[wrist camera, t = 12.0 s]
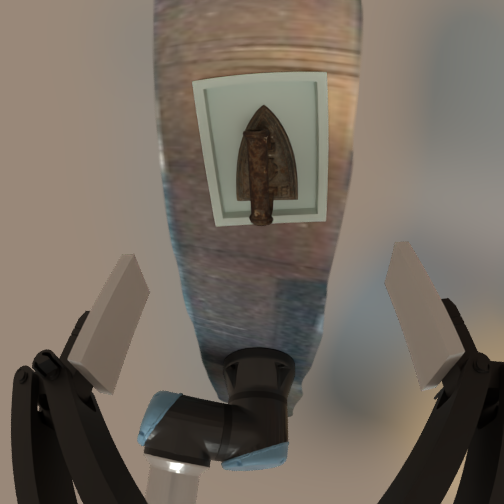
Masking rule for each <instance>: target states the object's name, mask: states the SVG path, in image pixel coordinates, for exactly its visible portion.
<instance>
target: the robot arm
mask: <svg viewBox="0 0 504 504" xmlns="http://www.w3.org/2000/svg"><path fill="white" fill-rule="evenodd" d="M385 286H386V288H387V291H388V293H389V296H390V298H391V301H392V304H393V306H394V309H395V311H396V314H397V317H398V320H399V322H400V325H401V328H402V331H403V334H404V337H405V340H406V342H407V345H408V349H409V352H410V355H411V358H412V361H413V365H414V368H415V371H416V375H417V378H418V382H419V384H420V389H421V391H424V390H428V389H432V388H436V387H437V385H438V384H439V383H440V382H441V381H442V383H443V386H444V387H443V388H442V389H441V390H440V391H439V392H438V393H437V395H436V396H435V397H434V399H437V398H438V399H437V402H436V404H435V406H434V408H433V411H432V413H431V415H430V417H429V419H428V421H427V423H426V425H425V427H424V429H423V431H422V433H421V435H420V437H419V439H418V441H417V443H416V444H415V446H414V448H413V450H412V452H411V453H410V455H409V457H408V459H407V460H406V462H405V464H404V465H403V467H402V468H401V470H400V472H399V473H398V475H397V476H396V478H395V479H394V481H393V482H392V484H391V485H390V487H389V488H388V490H387V491H386V492H385V494H384V495H383V497H382V498H381V499H380V501H379V502H378V504H441V502H442V500H443V499H444V497H445V495H446V493H447V491H448V490H449V488H450V486H451V484H452V482H453V480H454V478H455V476H456V474H457V472H458V470H459V468H460V465H461V463H462V461H463V459H464V457H465V454H466V452H467V449H468V452H467V456H466V461H465V465H464V470H463V473H462V477H461V480H460V484H459V487H458V491H457V494H456V497H455V500H454V503H453V504H504V362H496V361H490V359H489V358H488V357H487V356H486V355H485V354H483V353H480V352H478V351H477V349H476V347H475V344H474V342H473V340H472V338H471V336H470V333H469V331H468V329H467V327H466V325H465V324H464V321H463V319H462V317H461V316H460V313H459V311H458V309H457V307H456V305H455V304H454V303H453V302H452V301H450V299H449V298H447V299H441V298H440V296H439V295H438V293H437V291H436V289H435V287H434V285H433V283H432V281H431V280H430V278H429V276H428V274H427V272H426V271H425V269H424V267H423V265H422V264H421V262H420V260H419V259H418V257H417V255H416V254H415V252H414V250H413V249H412V247H411V245H410V244H409V242H395V245H394V249H393V253H392V257H391V261H390V265H389V269H388V273H387V276H386V280H385ZM149 294H150V291H149V289H148V287H147V284H146V282H145V279H144V277H143V275H142V272H141V270H140V267H139V265H138V262H137V260H136V257H135V255H134V254H125V255H122V256H121V257H120V259H119V261H118V262H117V264H116V266H115V268H114V269H113V271H112V272H111V274H110V276H109V278H108V280H107V282H106V283H105V285H104V287H103V288H102V290H101V292H100V294H99V296H98V298H97V299H96V301H95V303H94V305H93V307H92V309H91V311H86V312H85V313H84V314H83V315H82V316H81V317H80V318H79V319H78V321H77V323H76V326H75V329H73V331H72V333H71V336H70V337H69V339H68V342H67V343H66V346H65V348H64V350H63V352H62V354H61V356H60V358H58V357H57V356H56V355H55V354H54V353H53V352H52V351H51V350H43V351H41V352H40V353H38V354H37V355H36V357H35V358H34V361H33V363H32V364H33V365H32V368H33V369H34V370H35V372H34V371H33V370H32V369H31V368H30V367H28V366H22V367H20V368H19V369H18V370H17V372H16V373H15V376H14V381H13V392H12V409H11V446H12V463H13V474H14V482H15V489H16V496H17V501H18V504H78V503H77V499H76V495H75V491H74V486H73V482H74V484H75V487H76V489H77V491H78V494H79V496H80V498H81V500H82V502H83V504H196V498H197V490H198V483H199V476H200V475H201V474H202V473H204V472H205V471H207V470H208V469H209V468H210V461H211V460H215V461H221V462H222V463H221V465H222V467H223V469H225V470H232V471H250V470H260V469H268V468H273V467H277V466H280V465H282V464H283V463H284V462H285V461H286V459H287V452H288V445H289V442H288V409H287V398H288V394H289V392H290V389H291V386H292V383H293V380H294V377H295V363H294V361H293V359H292V358H291V357H290V356H288V355H286V354H285V353H282V352H280V351H276V350H272V349H265V348H250V349H244V350H240V351H237V352H234V353H232V354H230V355H229V356H228V357H227V358H226V359H225V361H224V367H223V375H224V379H225V383H226V387H227V391H228V394H229V401H228V404H224V403H219V402H214V401H208V400H204V399H199V398H195V397H190V396H186V395H183V394H182V393H179V394H177V393H173V392H168V391H159V392H157V393H156V394H155V395H154V396H153V398H152V399H151V401H150V404H149V405H148V408H147V410H146V413H145V415H144V418H143V421H142V423H141V427H140V431H139V434H138V440H137V441H138V443H139V444H141V446H145V449H144V454H143V455H144V456H145V458H146V459H147V461H148V462H149V464H150V470H149V477H148V483H147V489H146V495H145V498H144V496H143V495H142V493H141V492H140V490H139V488H138V487H137V485H136V483H135V481H134V480H133V478H132V476H131V474H130V473H129V471H128V469H127V467H126V465H125V464H124V461H123V459H122V458H121V456H120V454H119V452H118V450H117V448H116V445H115V444H114V441H113V439H112V437H111V435H110V433H109V430H108V428H107V426H106V423H105V421H104V419H103V416H102V414H101V411H100V409H99V406H98V404H97V401H96V399H95V396H94V394H93V393H92V392H91V391H92V388H93V387H94V388H95V389H97V390H98V391H99V392H100V393H105V394H109V395H113V393H114V390H115V387H116V384H117V380H118V378H119V375H120V372H121V368H122V366H123V363H124V360H125V357H126V354H127V351H128V348H129V346H130V343H131V340H132V337H133V335H134V332H135V329H136V327H137V324H138V321H139V319H140V316H141V314H142V311H143V309H144V306H145V304H146V301H147V299H148V296H149ZM37 405H38V406H39V407H40V408H39V411H37ZM72 480H73V481H72Z"/></svg>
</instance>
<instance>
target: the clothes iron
mask: <svg viewBox="0 0 504 504" xmlns="http://www.w3.org/2000/svg"><path fill="white" fill-rule="evenodd" d="M236 196H237V201H251V215H250V216H249V219H250V221H251V223H252V224H254V225H257V226H264V225H269V224H271V223H272V222H273V217H272V212H273V201H274V200H298V178H297V168H296V162H295V156H294V152H293V149H292V146H291V143H290V140H289V138H288V135H287V133H286V131H285V129H284V127H283V126H282V124H281V123H280V121H279V119H278V118H277V117H276V116H275V114H274V113H273V112H272V111H271V110H270V109H269V108H268V107H267V106H265V105H263V106H261V107H260V108H259V109H258V110H257V111H256V112H255V114H254V115H253V117H252V118H251V120H250V121H249V123H248V125H247V127H246V129H245V131H243V137H242V140H241V144H240V148H239V153H238V160H237V170H236Z"/></svg>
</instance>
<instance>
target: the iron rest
mask: <svg viewBox="0 0 504 504" xmlns="http://www.w3.org/2000/svg"><path fill="white" fill-rule="evenodd" d="M192 85H193V92H194V99H195V106H196V113H197V119H198V126H199V132H200V138H201V145H202V151H203V157H204V163H205V169H206V175H207V181H208V186H209V192H210V198H211V203H212V209H213V214H214V220H215V225H216V226H233V225H251V224H252V223H251V221H250V219H249V216H250V215H251V201H237V196H236V170H237V160H238V153H239V148H240V144H241V140H242V137H243V131H245V129H246V127H247V125H248V123H249V121H250V120H251V118H252V117H253V115H254V114H255V112H256V111H257V110H258V109H259V108H260V107H261V106H263V105H265V106H267V107H268V108H269V109H270V110H271V111H272V112H273V113H274V114H275V116H276V117H277V118H278V119H279V121H280V123H281V124H282V126H283V127H284V129H285V131H286V133H287V135H288V138H289V140H290V143H291V146H292V149H293V152H294V156H295V162H296V168H297V178H298V200H274V201H273V212H272V217H273V222H272V223H294V222H320V221H326V210H327V187H328V88H327V72H269V73H254V74H242V75H233V76H224V77H216V78H209V79H203V80H197V81H192Z"/></svg>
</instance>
